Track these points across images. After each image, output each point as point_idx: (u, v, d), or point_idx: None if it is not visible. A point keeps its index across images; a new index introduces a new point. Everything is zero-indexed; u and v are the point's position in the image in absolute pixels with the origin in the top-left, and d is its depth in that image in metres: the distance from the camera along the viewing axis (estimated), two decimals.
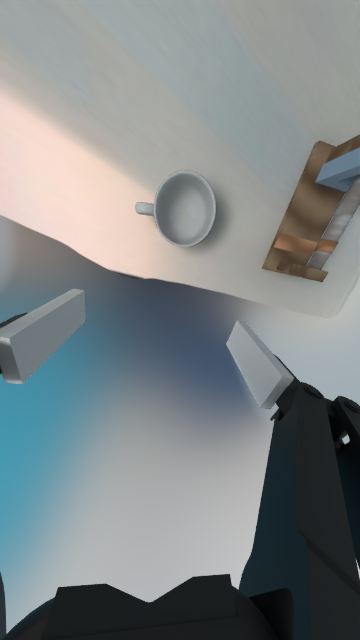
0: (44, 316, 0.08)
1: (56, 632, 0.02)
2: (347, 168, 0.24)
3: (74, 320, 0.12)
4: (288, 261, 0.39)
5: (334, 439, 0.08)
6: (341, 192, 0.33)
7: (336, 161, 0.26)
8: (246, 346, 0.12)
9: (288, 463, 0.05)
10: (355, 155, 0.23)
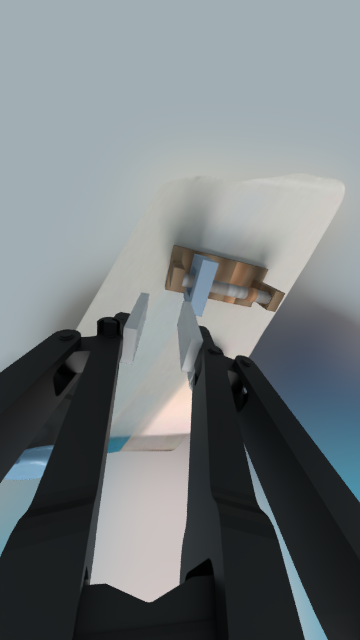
0: (142, 314, 0.11)
1: None
2: None
3: (144, 318, 0.14)
4: (249, 286, 0.40)
5: (238, 392, 0.10)
6: None
7: None
8: (183, 321, 0.13)
9: (202, 426, 0.06)
10: None
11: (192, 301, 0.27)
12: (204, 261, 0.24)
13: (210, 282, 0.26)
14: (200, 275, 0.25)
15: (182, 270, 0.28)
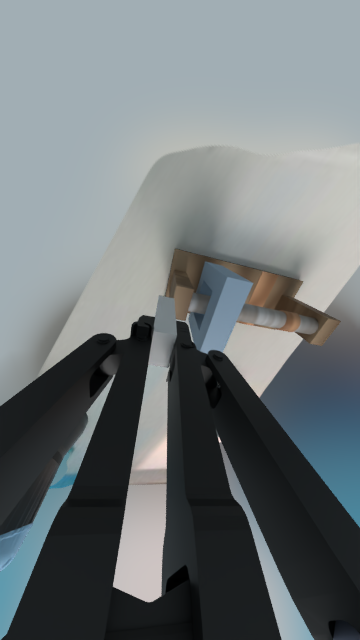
0: (165, 318, 0.12)
1: None
2: None
3: None
4: (275, 303, 0.30)
5: (213, 387, 0.10)
6: None
7: None
8: None
9: (177, 424, 0.06)
10: None
11: (205, 340, 0.17)
12: (229, 279, 0.14)
13: (237, 313, 0.15)
14: (220, 302, 0.15)
15: (189, 290, 0.18)
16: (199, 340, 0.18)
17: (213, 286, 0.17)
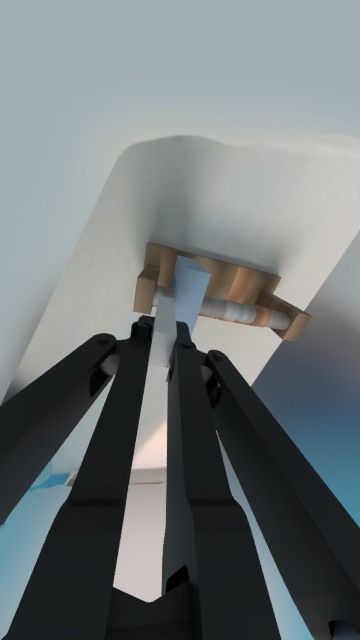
0: (165, 318, 0.12)
1: None
2: None
3: None
4: (254, 299, 0.29)
5: (213, 387, 0.10)
6: None
7: None
8: None
9: (177, 424, 0.06)
10: None
11: None
12: (185, 270, 0.13)
13: (198, 305, 0.15)
14: (179, 294, 0.14)
15: (151, 282, 0.17)
16: None
17: (176, 278, 0.16)
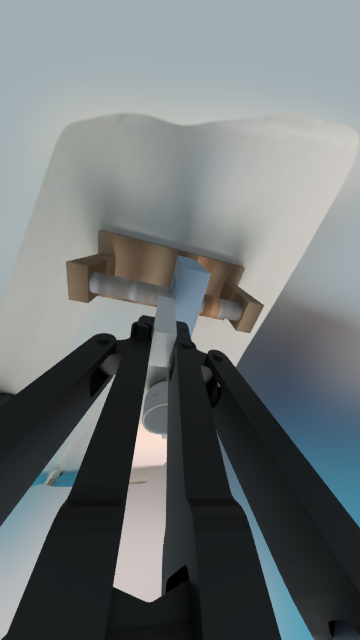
0: (165, 318, 0.12)
1: None
2: None
3: None
4: (219, 291, 0.28)
5: (213, 387, 0.10)
6: (138, 246, 0.24)
7: None
8: None
9: (177, 424, 0.06)
10: None
11: None
12: (185, 270, 0.13)
13: (198, 305, 0.15)
14: (179, 294, 0.14)
15: (82, 267, 0.16)
16: None
17: (176, 278, 0.16)
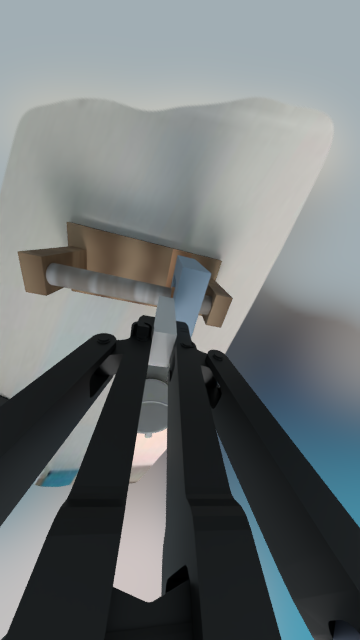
0: (165, 318, 0.12)
1: None
2: None
3: None
4: None
5: (213, 387, 0.10)
6: (109, 238, 0.23)
7: None
8: None
9: (177, 424, 0.06)
10: None
11: None
12: (185, 270, 0.13)
13: (198, 305, 0.15)
14: (179, 294, 0.14)
15: (35, 257, 0.15)
16: None
17: (177, 278, 0.16)
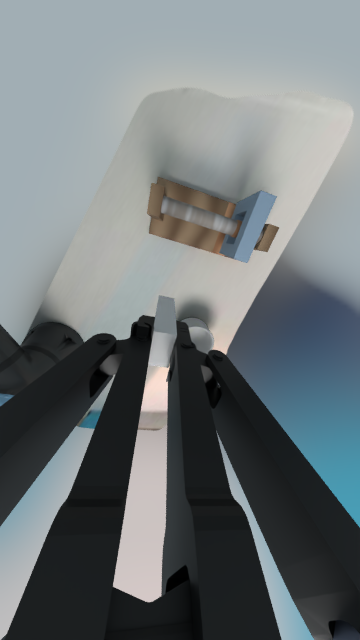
0: (165, 318, 0.12)
1: None
2: None
3: None
4: None
5: (213, 387, 0.10)
6: (184, 191, 0.32)
7: None
8: None
9: (177, 425, 0.06)
10: None
11: (240, 243, 0.25)
12: (262, 192, 0.22)
13: (264, 220, 0.24)
14: (254, 210, 0.23)
15: (161, 187, 0.24)
16: (234, 248, 0.27)
17: (247, 207, 0.25)
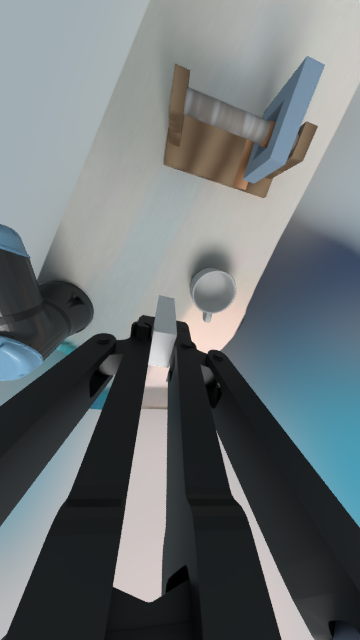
0: (165, 318, 0.12)
1: None
2: (268, 173, 0.27)
3: None
4: None
5: (213, 387, 0.10)
6: None
7: (251, 175, 0.29)
8: None
9: (177, 424, 0.06)
10: (262, 169, 0.26)
11: (279, 135, 0.22)
12: (308, 59, 0.19)
13: (308, 101, 0.20)
14: (298, 86, 0.20)
15: (186, 71, 0.21)
16: (269, 148, 0.23)
17: (285, 94, 0.22)
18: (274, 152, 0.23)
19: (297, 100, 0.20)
